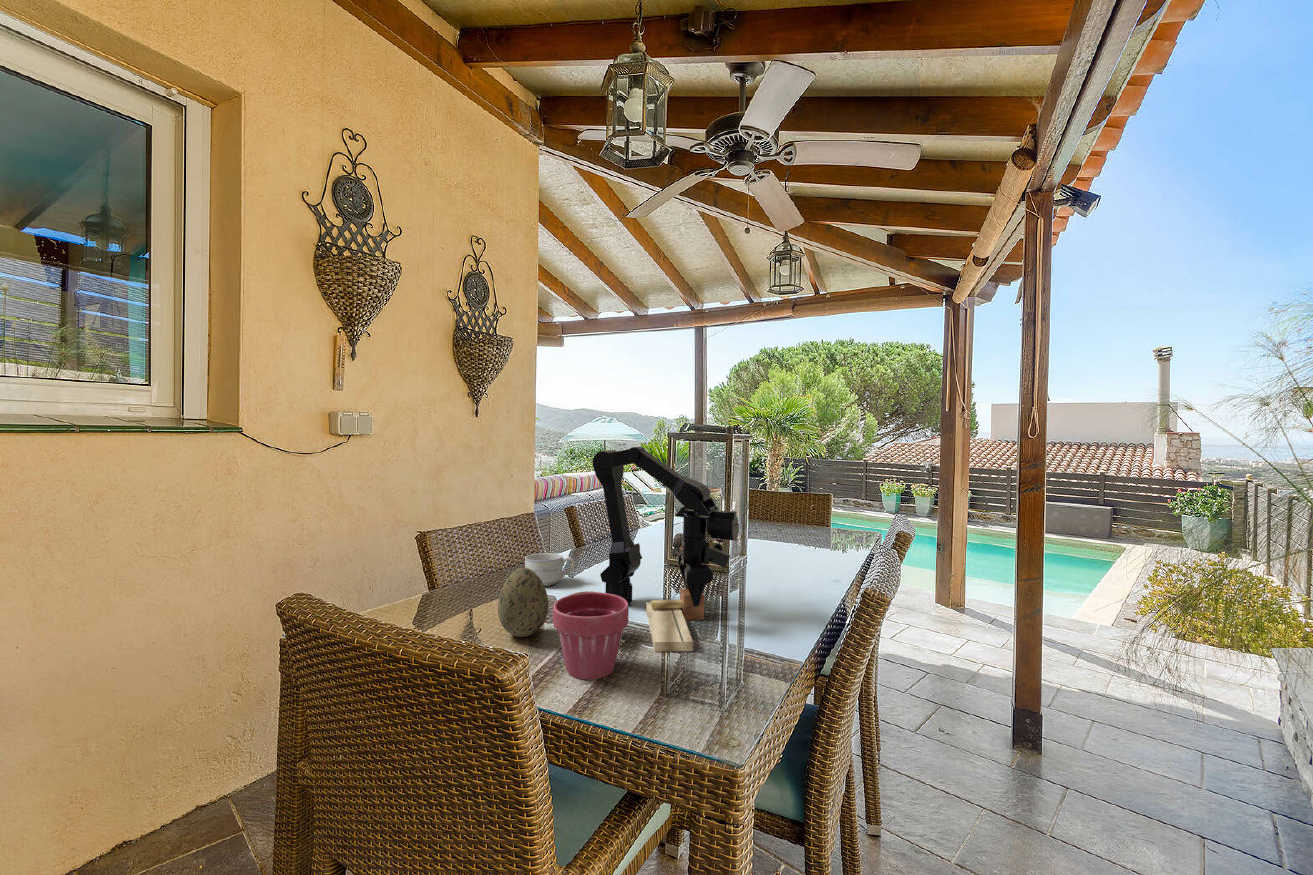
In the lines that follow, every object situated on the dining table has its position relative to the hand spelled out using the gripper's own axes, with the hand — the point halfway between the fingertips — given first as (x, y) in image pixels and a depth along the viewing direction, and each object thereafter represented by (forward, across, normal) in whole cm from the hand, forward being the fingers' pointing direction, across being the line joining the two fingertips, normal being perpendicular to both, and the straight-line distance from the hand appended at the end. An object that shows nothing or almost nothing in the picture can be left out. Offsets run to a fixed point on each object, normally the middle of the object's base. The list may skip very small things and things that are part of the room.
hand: (693, 599), depth 139 cm
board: (+4, -8, +7) cm, 11 cm away
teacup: (+4, +27, +37) cm, 46 cm away
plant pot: (+4, -28, +24) cm, 37 cm away
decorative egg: (+4, -11, +39) cm, 41 cm away
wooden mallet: (+4, 0, +4) cm, 6 cm away
